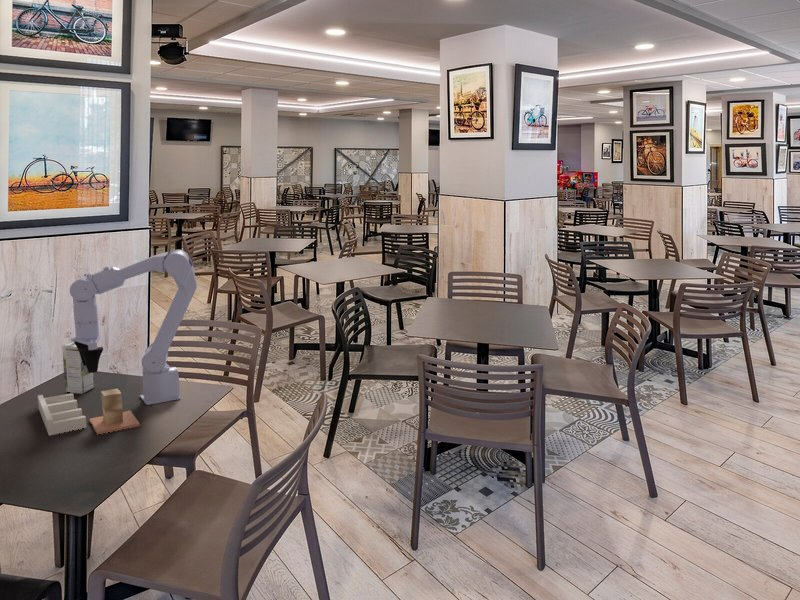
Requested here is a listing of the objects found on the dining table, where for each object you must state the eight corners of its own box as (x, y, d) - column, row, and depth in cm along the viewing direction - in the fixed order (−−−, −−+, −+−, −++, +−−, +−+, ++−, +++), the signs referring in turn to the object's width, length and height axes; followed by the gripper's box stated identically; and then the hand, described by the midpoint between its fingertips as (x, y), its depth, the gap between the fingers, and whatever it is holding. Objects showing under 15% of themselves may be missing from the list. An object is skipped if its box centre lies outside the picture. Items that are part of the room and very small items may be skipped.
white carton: (78, 386, 178) (74, 340, 175) (96, 387, 177) (92, 341, 174) (65, 392, 172) (60, 345, 170) (83, 394, 172) (79, 347, 169)
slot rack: (73, 403, 165) (72, 389, 164) (86, 427, 150) (85, 413, 149) (38, 409, 160) (37, 395, 159) (48, 435, 145) (47, 420, 144)
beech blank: (119, 416, 155) (117, 388, 153) (123, 422, 152) (121, 393, 150) (103, 420, 153) (101, 391, 151) (106, 425, 150) (104, 396, 148)
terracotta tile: (130, 413, 159) (130, 410, 159) (139, 426, 152) (139, 423, 152) (89, 421, 154) (89, 418, 153) (97, 435, 146) (97, 432, 146)
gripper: (65, 317, 164) (69, 363, 167) (74, 328, 152) (78, 378, 155) (93, 314, 168) (97, 359, 171) (104, 325, 157) (107, 373, 159)
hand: (90, 368), depth 163 cm, fingers open, 7 cm apart
